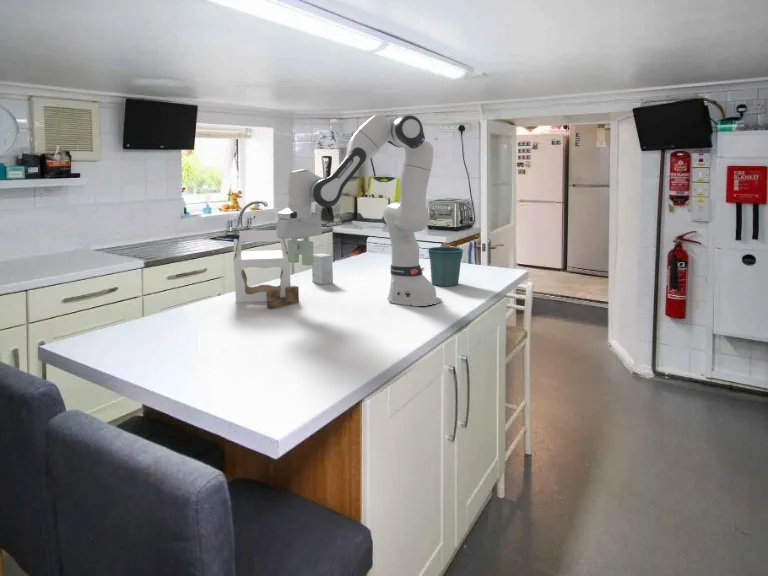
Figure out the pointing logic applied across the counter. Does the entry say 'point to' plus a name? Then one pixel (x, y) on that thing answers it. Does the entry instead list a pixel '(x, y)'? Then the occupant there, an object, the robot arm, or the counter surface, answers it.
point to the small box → (322, 269)
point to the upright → (277, 301)
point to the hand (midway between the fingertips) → (300, 248)
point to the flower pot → (445, 265)
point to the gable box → (259, 265)
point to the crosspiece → (301, 252)
